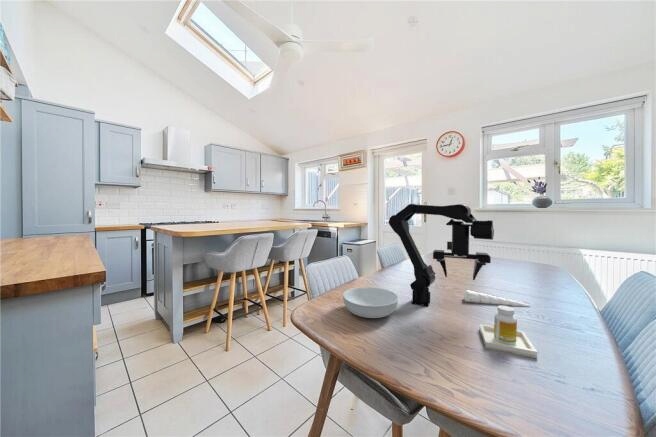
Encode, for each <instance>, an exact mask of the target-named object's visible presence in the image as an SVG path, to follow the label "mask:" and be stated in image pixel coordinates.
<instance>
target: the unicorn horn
mask: <svg viewBox="0 0 656 437" xmlns="http://www.w3.org/2000/svg"><path fill="white" fill-rule="evenodd" d="M463 294H464V295H463V296H464V297H463V298H464V299H463V300H464V301H465V302H468V303H477V304H479V303H481V304H490V305H498V306H500V305H502V306H510V307H512V306H513V307H525V308H526V307H531V305H530V304H526V303H523V302H520V301H516V300H513V299H512V300H511V299H508V298H504V297H500V296H494V295H491V294H486V293H481V292H478V291H477V292H476V291H474V290H473V291H472V290H468V289H466V290H464V293H463Z"/></svg>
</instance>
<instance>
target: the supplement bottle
mask: <svg viewBox="0 0 656 437" xmlns="http://www.w3.org/2000/svg"><path fill="white" fill-rule="evenodd" d="M493 317H494V323H493V326H494V338H495V339H496V340H497V341H499V342H502V343H505V344H515V343H516V333H517V329H518V328H517V327H518V326H517V325H518V321H517V320H518V319H517V317H516V316H515V309H514V308H513V307H512V306H509V305H501V304H499V305H498V306H497V312H496V313H495V314H494V316H493Z"/></svg>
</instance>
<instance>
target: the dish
mask: <svg viewBox="0 0 656 437" xmlns="http://www.w3.org/2000/svg"><path fill="white" fill-rule="evenodd" d="M479 332H480V335H481V338H482V342H483V343H484V344H483V345H484V347H485V349H488V350H492V351H498V352H503V353H507V354H513V355H519V356H524V357H528V358H534V359H538V350H537V349H536V347H535V346H534V344H533V343H532V341H531V340H530V339H529V337H528V335H527V334H526V333H525V331H524V330H523V331H522V330H517V333H516V343H515V344H505V343H502V342H499V341H497V340H496V339H495V338H494V325H493V326H492V325H488V324H481V323H480V324H479Z"/></svg>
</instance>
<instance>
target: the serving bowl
mask: <svg viewBox="0 0 656 437" xmlns="http://www.w3.org/2000/svg"><path fill="white" fill-rule="evenodd" d="M342 300H343V304H344V306H345V308H346V309H347V311H349V312H351V313H352V314H353V315H355V316H359V317H361V318H368V319H380V318H384V317H387V316H390V315H391V314H393V312H394V311H395V310H396V309H397V306H398V302H399V296H398V295H397V294H396V293H395V292H394V291H391V290H388V289H385V288H381V287H373V286H372V287H371V286H359V287H352V288H349V289H347V290H345V291H344V292H343V293H342Z"/></svg>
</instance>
